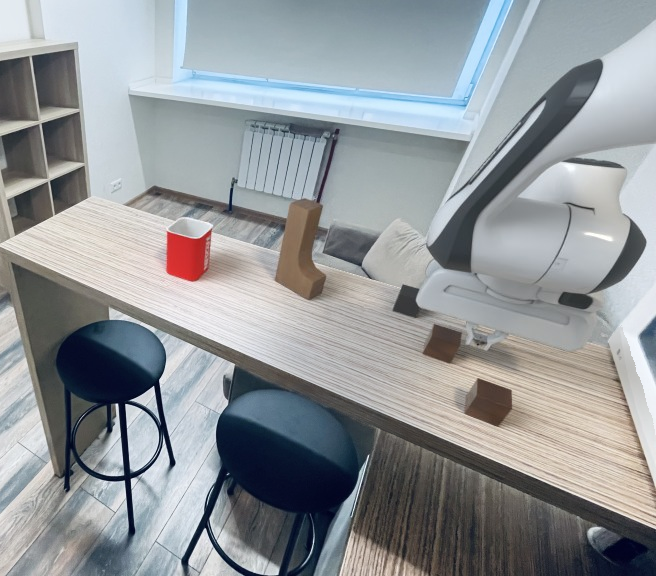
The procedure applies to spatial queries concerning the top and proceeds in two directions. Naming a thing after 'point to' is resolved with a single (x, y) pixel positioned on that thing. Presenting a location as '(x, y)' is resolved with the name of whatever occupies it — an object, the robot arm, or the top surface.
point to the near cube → (488, 402)
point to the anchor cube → (407, 301)
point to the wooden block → (300, 250)
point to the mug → (188, 248)
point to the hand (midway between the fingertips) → (475, 345)
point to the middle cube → (442, 343)
